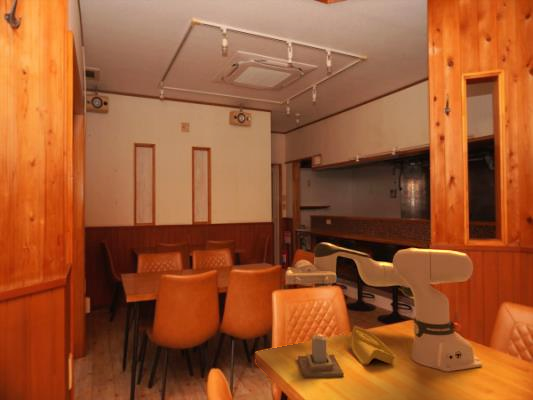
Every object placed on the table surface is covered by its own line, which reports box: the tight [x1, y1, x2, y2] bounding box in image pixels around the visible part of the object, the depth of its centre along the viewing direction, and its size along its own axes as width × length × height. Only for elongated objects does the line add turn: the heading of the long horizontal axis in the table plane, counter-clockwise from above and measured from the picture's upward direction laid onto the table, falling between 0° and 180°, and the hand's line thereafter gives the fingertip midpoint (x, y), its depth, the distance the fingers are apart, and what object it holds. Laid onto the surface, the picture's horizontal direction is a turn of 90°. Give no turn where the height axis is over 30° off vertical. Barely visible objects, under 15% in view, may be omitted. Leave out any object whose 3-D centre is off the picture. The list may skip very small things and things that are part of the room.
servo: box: [311, 333, 327, 363], centre depth 124 cm, size 4×5×10 cm
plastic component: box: [350, 325, 396, 366], centre depth 134 cm, size 20×7×10 cm
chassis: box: [297, 352, 345, 379], centre depth 124 cm, size 13×14×3 cm
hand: (313, 281), depth 138 cm, fingers open, 8 cm apart
